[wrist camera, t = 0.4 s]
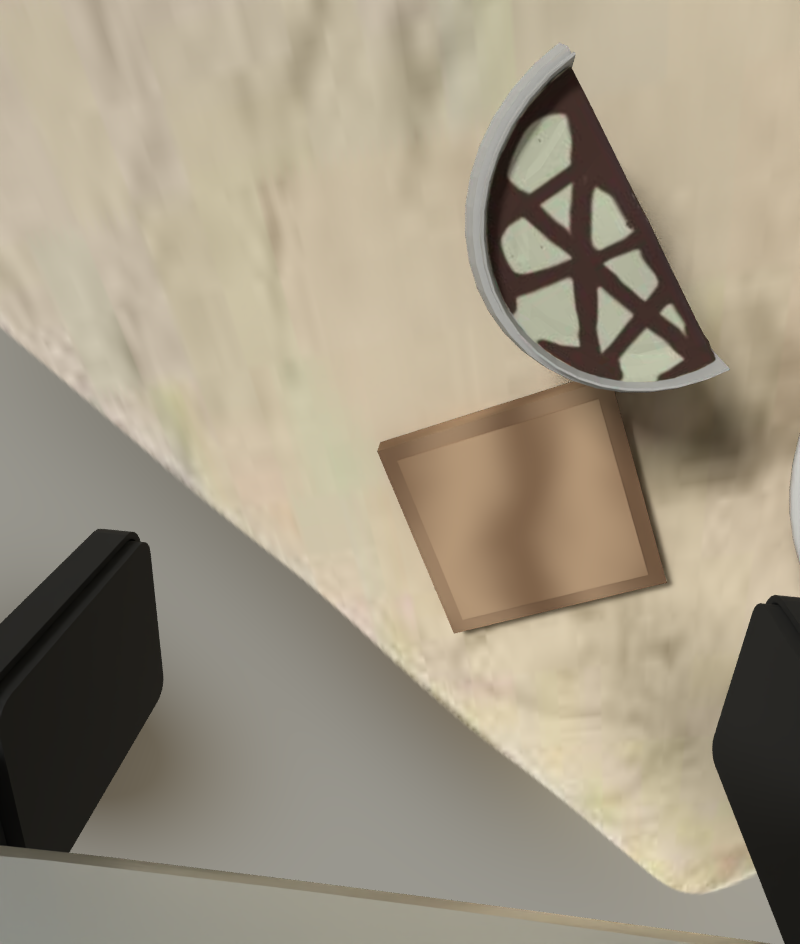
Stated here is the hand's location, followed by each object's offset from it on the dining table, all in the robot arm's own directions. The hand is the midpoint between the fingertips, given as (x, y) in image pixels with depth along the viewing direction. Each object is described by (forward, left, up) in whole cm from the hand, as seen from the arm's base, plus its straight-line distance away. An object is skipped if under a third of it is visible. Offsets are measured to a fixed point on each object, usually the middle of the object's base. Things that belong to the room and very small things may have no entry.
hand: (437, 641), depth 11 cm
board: (+1, +11, -26) cm, 28 cm away
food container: (-4, -2, -26) cm, 26 cm away
